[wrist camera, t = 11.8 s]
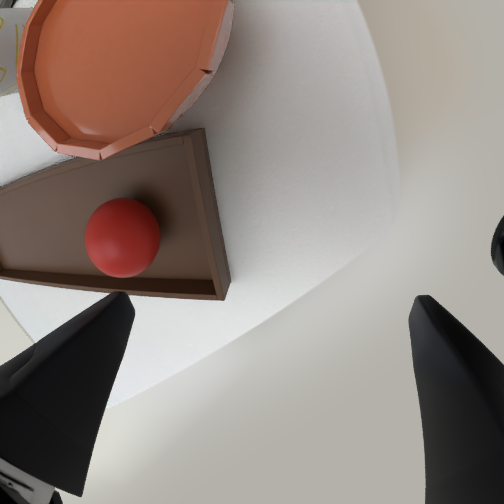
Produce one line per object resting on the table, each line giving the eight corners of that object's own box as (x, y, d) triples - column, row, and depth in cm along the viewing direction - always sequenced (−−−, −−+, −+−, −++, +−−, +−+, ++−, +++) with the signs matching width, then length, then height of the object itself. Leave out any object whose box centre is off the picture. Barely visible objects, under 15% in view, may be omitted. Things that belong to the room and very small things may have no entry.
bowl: (296, 32, 13) (295, -6, 7) (169, 163, 19) (110, 206, 13) (162, -49, 9) (106, -84, 3) (69, 75, 16) (-2, 89, 9)
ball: (188, 228, 20) (133, 272, 15) (157, 263, 24) (111, 303, 19) (138, 171, 19) (77, 201, 15) (115, 214, 23) (65, 246, 18)
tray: (204, 127, 18) (191, 133, 15) (231, 281, 25) (224, 300, 22) (-23, 199, 25) (-34, 207, 23) (6, 269, 32) (-3, 278, 30)
